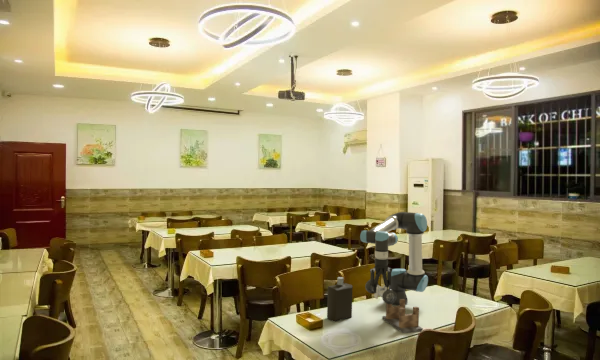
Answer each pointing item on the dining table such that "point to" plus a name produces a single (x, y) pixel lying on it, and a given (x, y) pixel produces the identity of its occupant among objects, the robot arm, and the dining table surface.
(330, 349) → the dining table surface
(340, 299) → the bottle
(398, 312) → the rack
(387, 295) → the dumbbell
